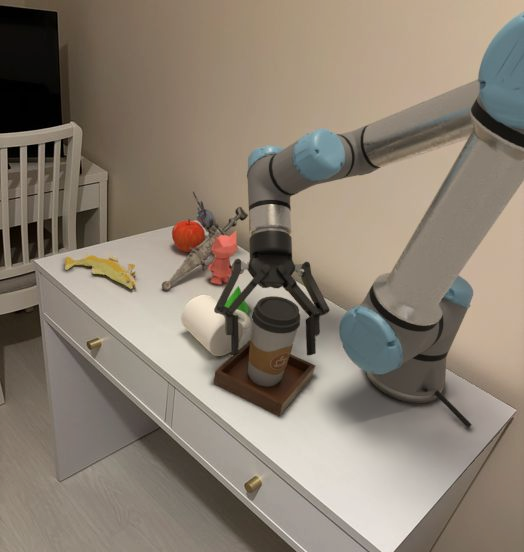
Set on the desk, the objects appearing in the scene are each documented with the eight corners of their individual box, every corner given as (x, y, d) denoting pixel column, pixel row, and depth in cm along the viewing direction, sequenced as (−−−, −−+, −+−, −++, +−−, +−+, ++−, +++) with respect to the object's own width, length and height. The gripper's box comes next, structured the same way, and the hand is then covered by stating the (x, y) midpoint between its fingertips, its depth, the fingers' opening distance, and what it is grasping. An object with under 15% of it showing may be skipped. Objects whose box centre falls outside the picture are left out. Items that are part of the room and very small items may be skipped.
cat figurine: (222, 270, 131) (228, 223, 124) (241, 283, 127) (248, 236, 120) (199, 277, 127) (203, 230, 119) (218, 291, 123) (224, 243, 116)
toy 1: (91, 249, 129) (56, 269, 123) (88, 237, 127) (53, 257, 121) (152, 282, 121) (118, 305, 116) (150, 270, 119) (116, 293, 113)
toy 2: (220, 263, 141) (192, 216, 144) (233, 255, 142) (204, 209, 144) (215, 241, 127) (183, 190, 130) (229, 233, 127) (197, 182, 130)
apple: (173, 256, 133) (175, 226, 128) (169, 241, 139) (170, 211, 134) (206, 256, 135) (209, 227, 130) (200, 241, 141) (203, 212, 136)
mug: (207, 361, 103) (211, 327, 98) (179, 333, 109) (181, 299, 104) (257, 344, 110) (263, 310, 105) (228, 318, 115) (232, 285, 111)
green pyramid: (250, 318, 117) (254, 294, 113) (222, 316, 116) (225, 292, 112) (247, 302, 121) (251, 279, 118) (220, 301, 120) (223, 277, 117)
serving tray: (312, 376, 104) (315, 365, 102) (279, 416, 94) (282, 404, 92) (251, 348, 108) (253, 336, 107) (213, 383, 98) (214, 371, 97)
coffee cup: (257, 396, 96) (271, 326, 87) (233, 368, 101) (244, 299, 92) (295, 383, 100) (312, 316, 91) (270, 357, 105) (284, 291, 97)
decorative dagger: (170, 302, 122) (250, 224, 136) (175, 301, 120) (256, 222, 134) (150, 276, 120) (233, 200, 133) (154, 275, 118) (239, 197, 131)
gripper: (329, 245, 104) (333, 356, 101) (197, 239, 98) (199, 356, 95) (344, 232, 97) (349, 351, 94) (203, 224, 91) (204, 351, 88)
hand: (273, 354), depth 95 cm, fingers open, 13 cm apart
